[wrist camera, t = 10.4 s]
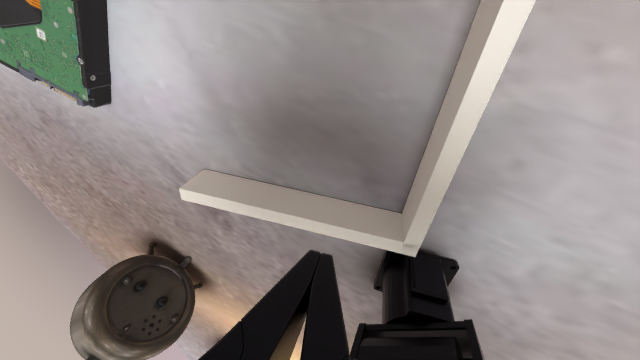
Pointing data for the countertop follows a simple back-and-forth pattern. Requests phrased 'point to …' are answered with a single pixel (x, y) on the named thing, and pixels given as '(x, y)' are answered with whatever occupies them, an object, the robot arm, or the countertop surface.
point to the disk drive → (59, 46)
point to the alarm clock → (134, 309)
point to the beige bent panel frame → (435, 168)
